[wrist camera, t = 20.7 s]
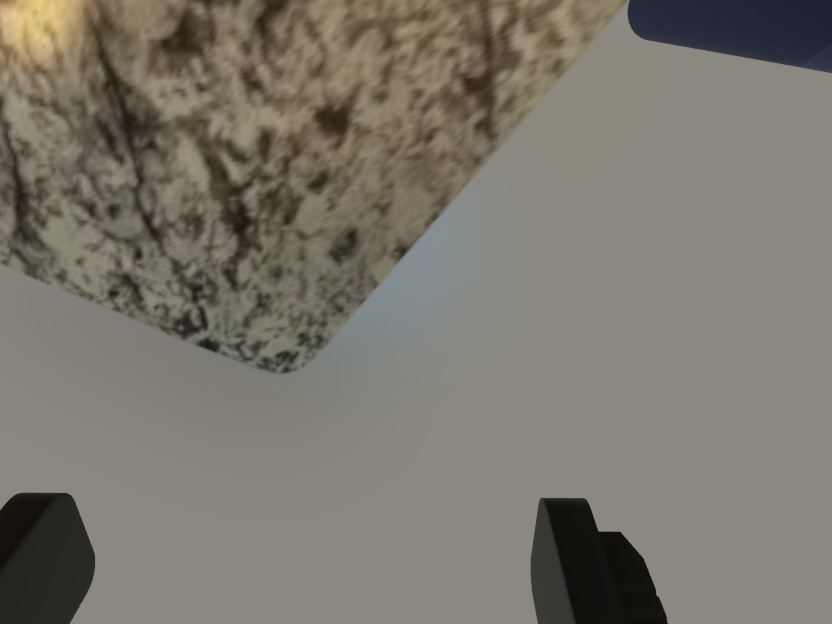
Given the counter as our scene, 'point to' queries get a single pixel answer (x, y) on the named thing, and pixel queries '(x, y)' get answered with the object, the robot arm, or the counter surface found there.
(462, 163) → the counter surface
